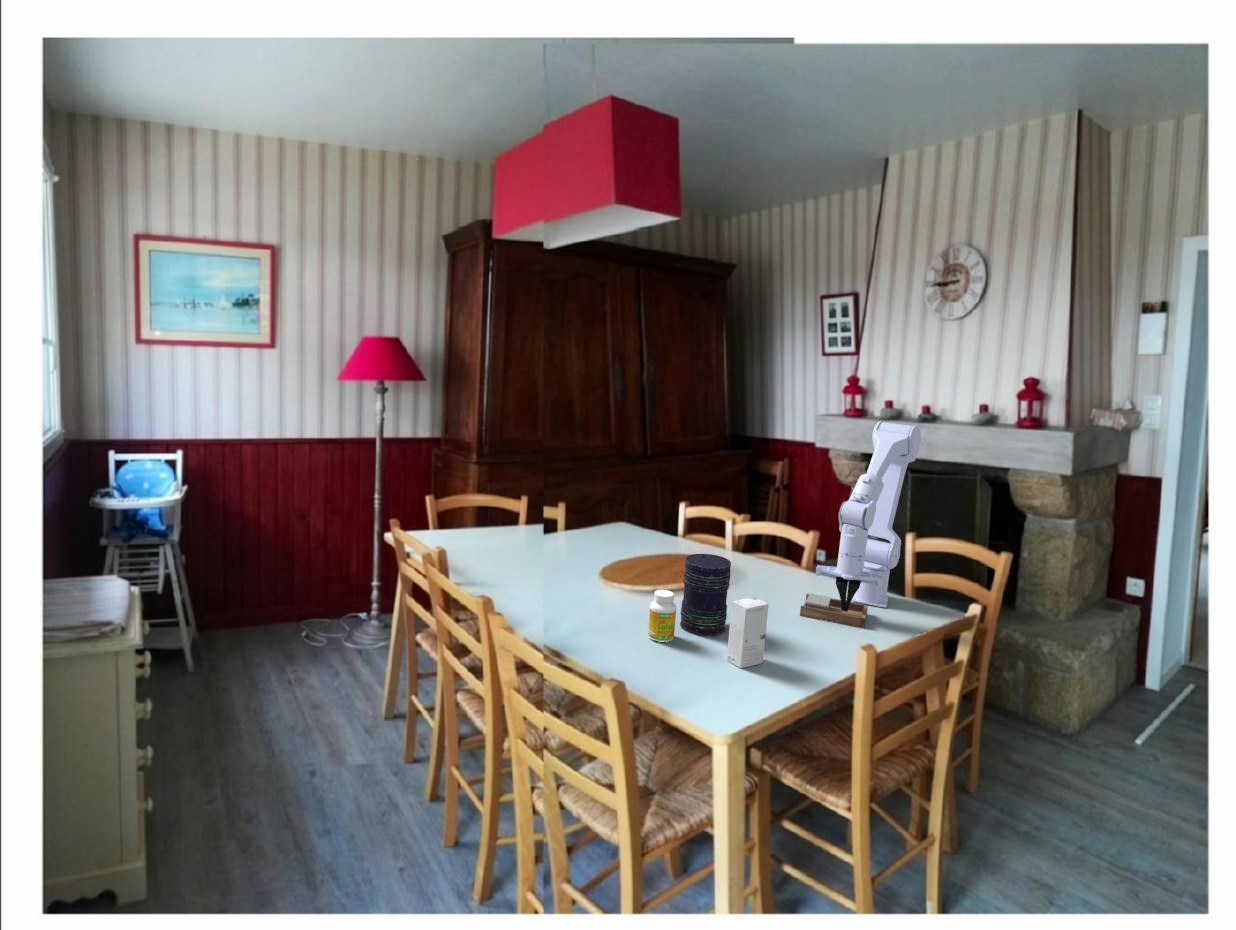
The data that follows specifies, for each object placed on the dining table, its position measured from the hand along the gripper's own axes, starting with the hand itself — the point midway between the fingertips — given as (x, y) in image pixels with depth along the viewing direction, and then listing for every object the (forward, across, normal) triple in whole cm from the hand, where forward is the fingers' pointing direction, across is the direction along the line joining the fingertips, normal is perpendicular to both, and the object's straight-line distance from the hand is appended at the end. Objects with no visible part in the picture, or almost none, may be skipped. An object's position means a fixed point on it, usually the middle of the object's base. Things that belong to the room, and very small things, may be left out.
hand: (844, 609), depth 166 cm
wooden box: (+2, -2, 0) cm, 3 cm away
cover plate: (+1, -6, 0) cm, 6 cm away
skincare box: (+2, -15, -35) cm, 38 cm away
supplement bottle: (+2, -33, -33) cm, 47 cm away
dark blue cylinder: (+2, -27, -23) cm, 36 cm away
